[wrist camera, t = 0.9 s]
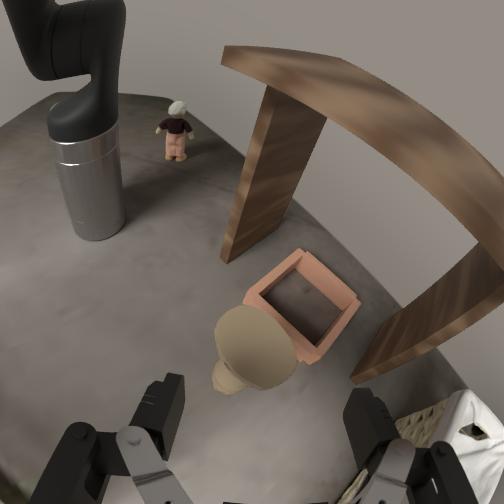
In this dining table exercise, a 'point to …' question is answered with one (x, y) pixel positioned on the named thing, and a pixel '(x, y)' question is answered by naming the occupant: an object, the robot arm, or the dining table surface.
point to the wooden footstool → (396, 150)
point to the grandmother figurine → (176, 132)
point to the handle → (251, 351)
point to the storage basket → (456, 441)
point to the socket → (323, 282)
